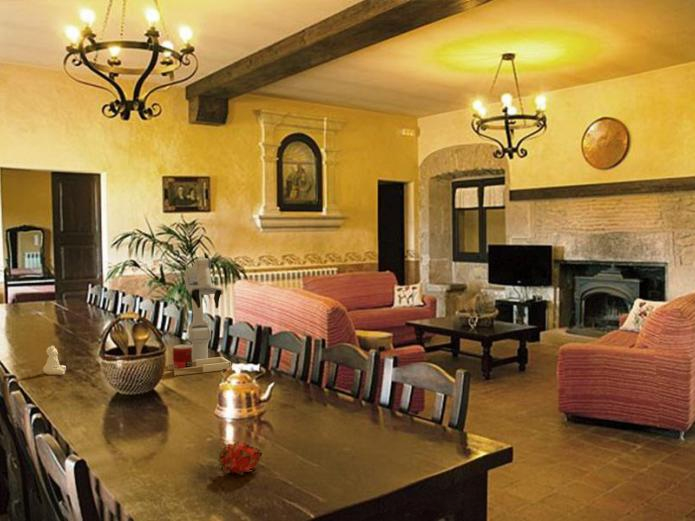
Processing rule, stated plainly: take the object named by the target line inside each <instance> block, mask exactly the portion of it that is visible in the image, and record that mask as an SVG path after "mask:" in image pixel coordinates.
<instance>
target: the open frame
mask: <svg viewBox="0 0 695 521" xmlns="http://www.w3.org/2000/svg"><path fill="white" fill-rule="evenodd" d="M195 361H196V367H197V366H203V372H202V373H208V372H217V371H218V372H219V371H224V370H223V369H224V368H226V367H230V366H231V367H232V362H231V361H230V360H229V359H226V358H225V357H224V356H216V357H208V358H206V359H197V360H195Z"/></svg>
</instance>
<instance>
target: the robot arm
mask: <svg viewBox="0 0 695 521" xmlns="http://www.w3.org/2000/svg"><path fill="white" fill-rule="evenodd" d="M211 265H212V264H211V259H210V258H206V257H205V258H202V257H201V258H196V259H195V260H194V264H193V265H192V267H189V268H187V269H185V271H184V283H185V289H186V290H188V294H189V295H190V297H191V306H192V318H193V320H192V322H190V324H189V325H188V329H187V330H188V331H187V332H188V334H187V335H188V341H189V342H191V344H190V345H191V346H192V361H195V360H197V359H206V358H209V352H208V350H209V349H208V348H209V345H208V343H209V341H210V340H211V339H212V330H211V326H210V322H207V321H206V320H204V313H203V304H202V295H203V296H208V295H213V294H214V296H213V301H214V303H215V305H214V307H215V309H219V306H220V305H219V303H220V298H221V295H223V294H224V288H220V287H216V286H213V284H212V283H213V282H212V276H211V268H212V267H211Z"/></svg>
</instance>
